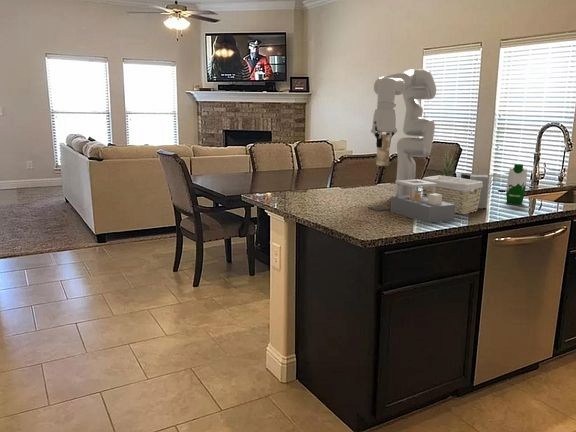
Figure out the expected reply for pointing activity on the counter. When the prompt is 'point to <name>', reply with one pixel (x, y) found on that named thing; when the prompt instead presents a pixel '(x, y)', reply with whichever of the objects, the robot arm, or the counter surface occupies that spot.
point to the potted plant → (448, 166)
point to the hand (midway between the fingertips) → (383, 146)
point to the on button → (434, 199)
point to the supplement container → (467, 175)
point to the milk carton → (516, 184)
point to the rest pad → (379, 208)
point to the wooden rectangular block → (383, 151)
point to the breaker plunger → (417, 196)
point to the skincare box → (482, 189)
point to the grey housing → (420, 204)
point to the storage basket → (456, 192)
